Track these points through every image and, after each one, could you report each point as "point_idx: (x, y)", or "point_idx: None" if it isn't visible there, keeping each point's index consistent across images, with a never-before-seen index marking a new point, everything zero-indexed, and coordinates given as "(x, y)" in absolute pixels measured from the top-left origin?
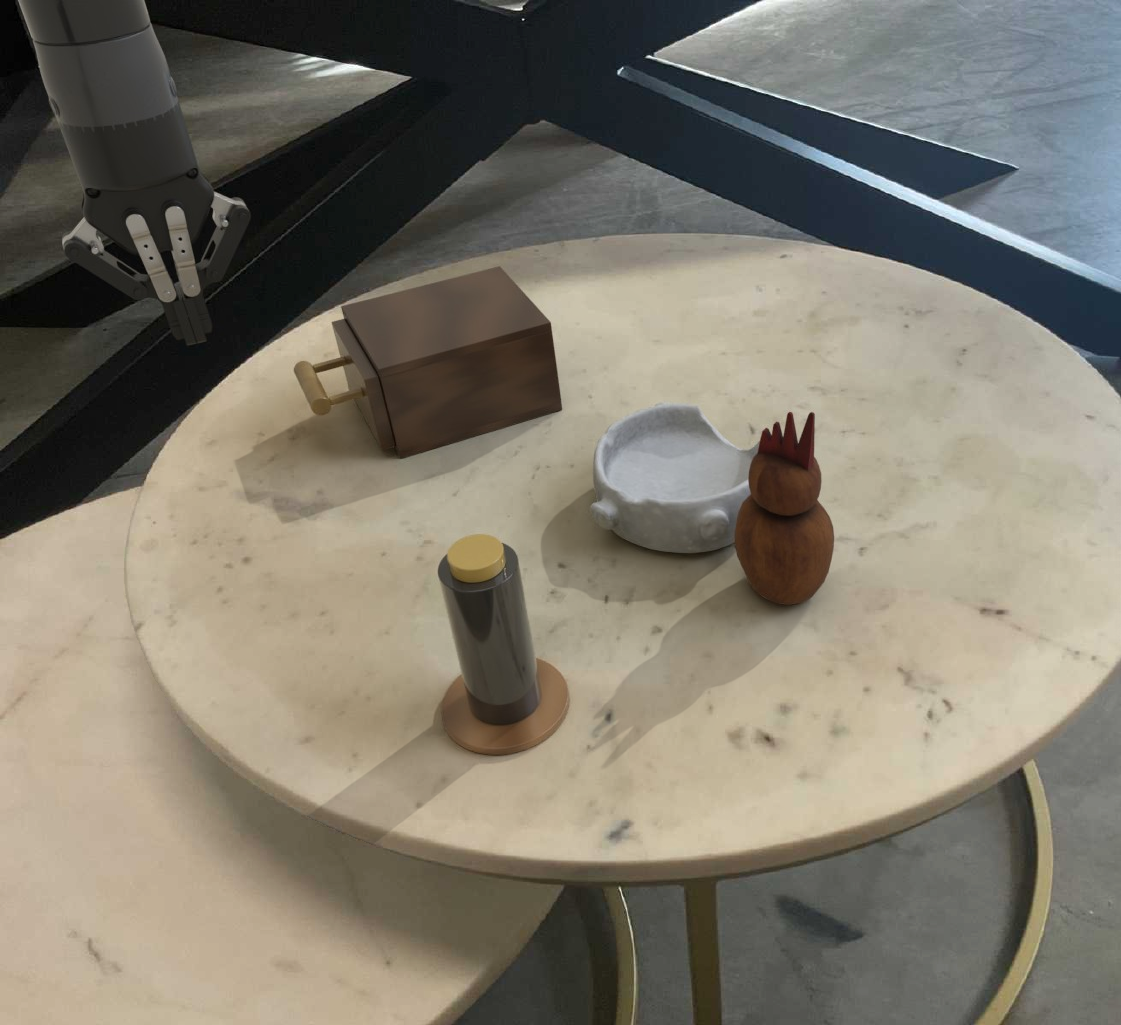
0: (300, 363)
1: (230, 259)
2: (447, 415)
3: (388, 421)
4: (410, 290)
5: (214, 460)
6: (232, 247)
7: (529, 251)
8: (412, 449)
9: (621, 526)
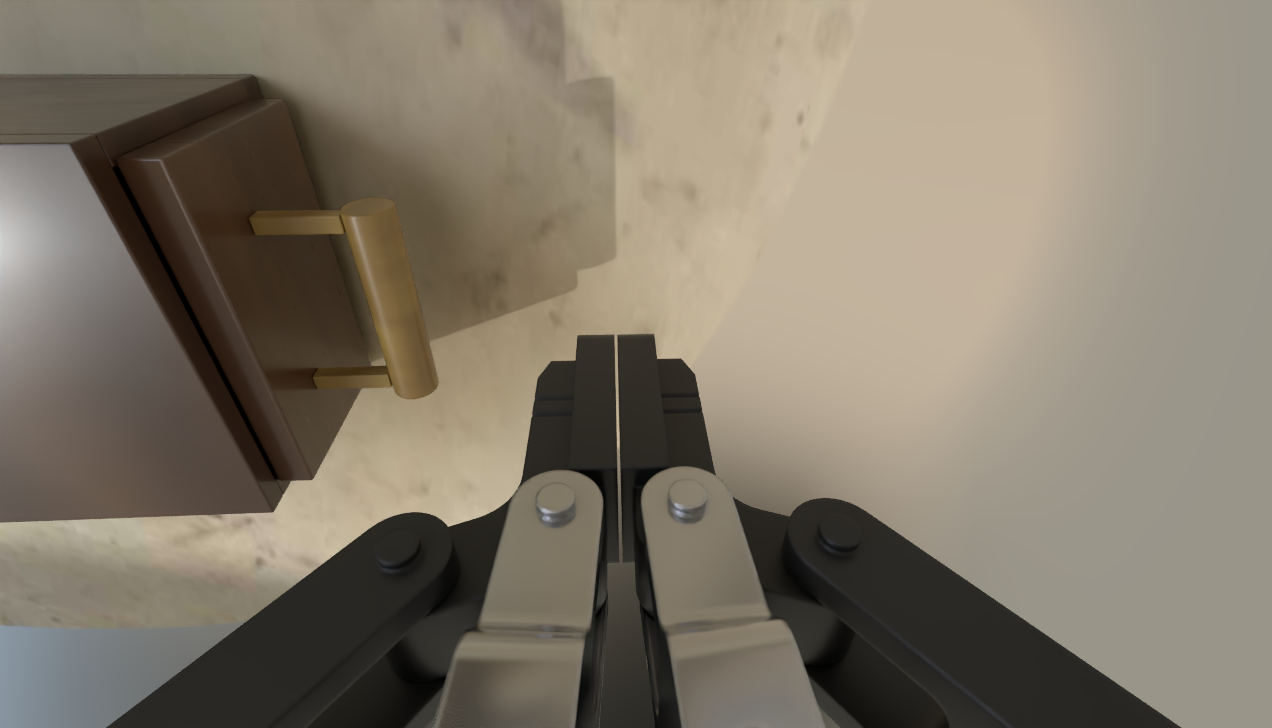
0: (412, 391)
1: (247, 626)
2: (54, 90)
3: (212, 117)
4: (85, 512)
5: (649, 277)
6: (161, 714)
7: (70, 621)
8: (211, 77)
9: None
